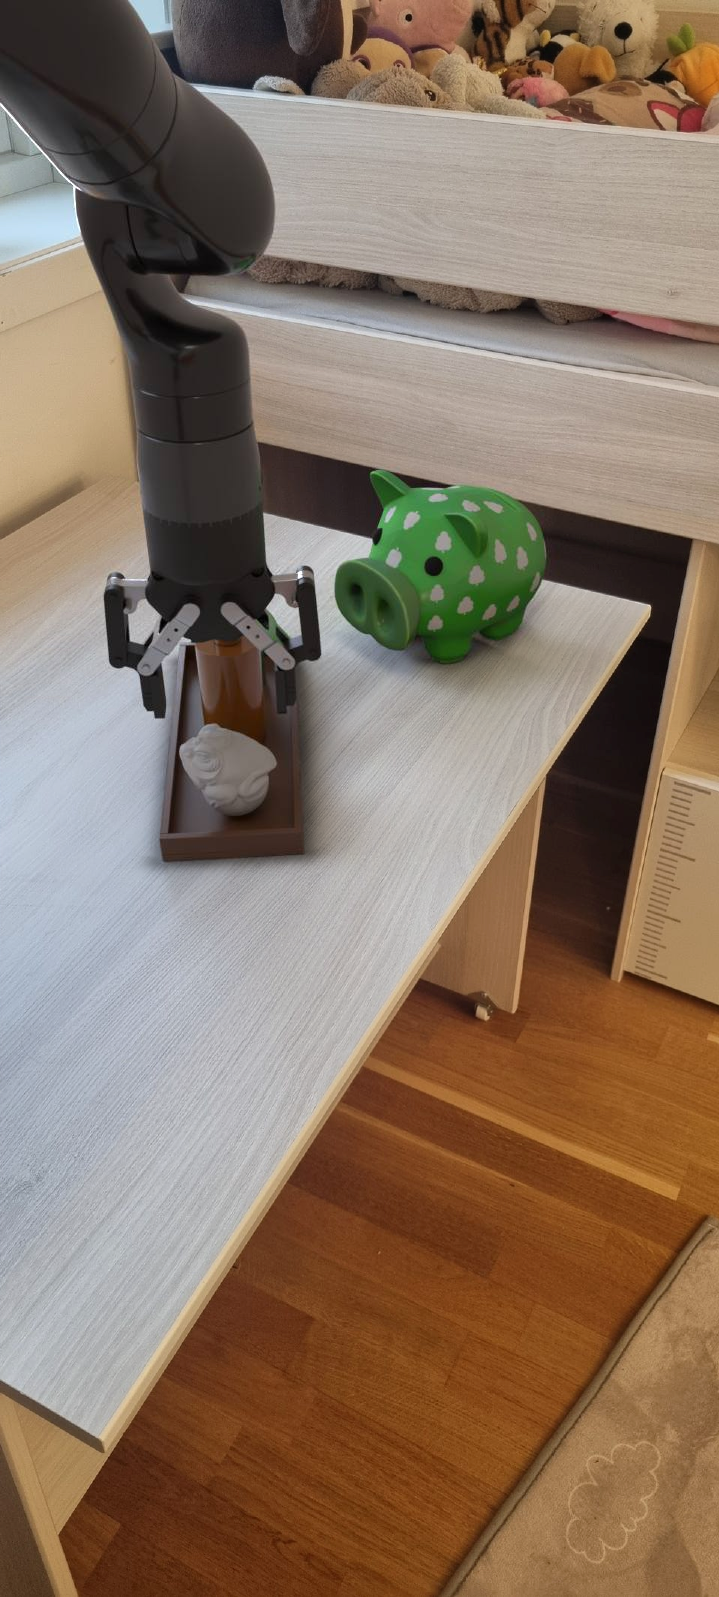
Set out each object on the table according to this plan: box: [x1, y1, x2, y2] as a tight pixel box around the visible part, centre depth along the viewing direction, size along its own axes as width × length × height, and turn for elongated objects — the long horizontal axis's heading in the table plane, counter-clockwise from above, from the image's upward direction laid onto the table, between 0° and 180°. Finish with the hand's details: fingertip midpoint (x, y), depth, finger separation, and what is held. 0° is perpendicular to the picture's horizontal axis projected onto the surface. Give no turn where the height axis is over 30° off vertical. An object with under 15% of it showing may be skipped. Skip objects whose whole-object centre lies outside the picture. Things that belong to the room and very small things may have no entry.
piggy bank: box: [333, 469, 547, 664], centre depth 106 cm, size 14×18×15 cm
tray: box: [158, 641, 305, 862], centre depth 96 cm, size 27×10×2 cm, turn 4°
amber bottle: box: [195, 635, 267, 744], centre depth 94 cm, size 5×5×12 cm
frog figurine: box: [179, 724, 277, 816], centre depth 88 cm, size 6×7×7 cm
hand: (221, 710), depth 84 cm, fingers open, 8 cm apart
